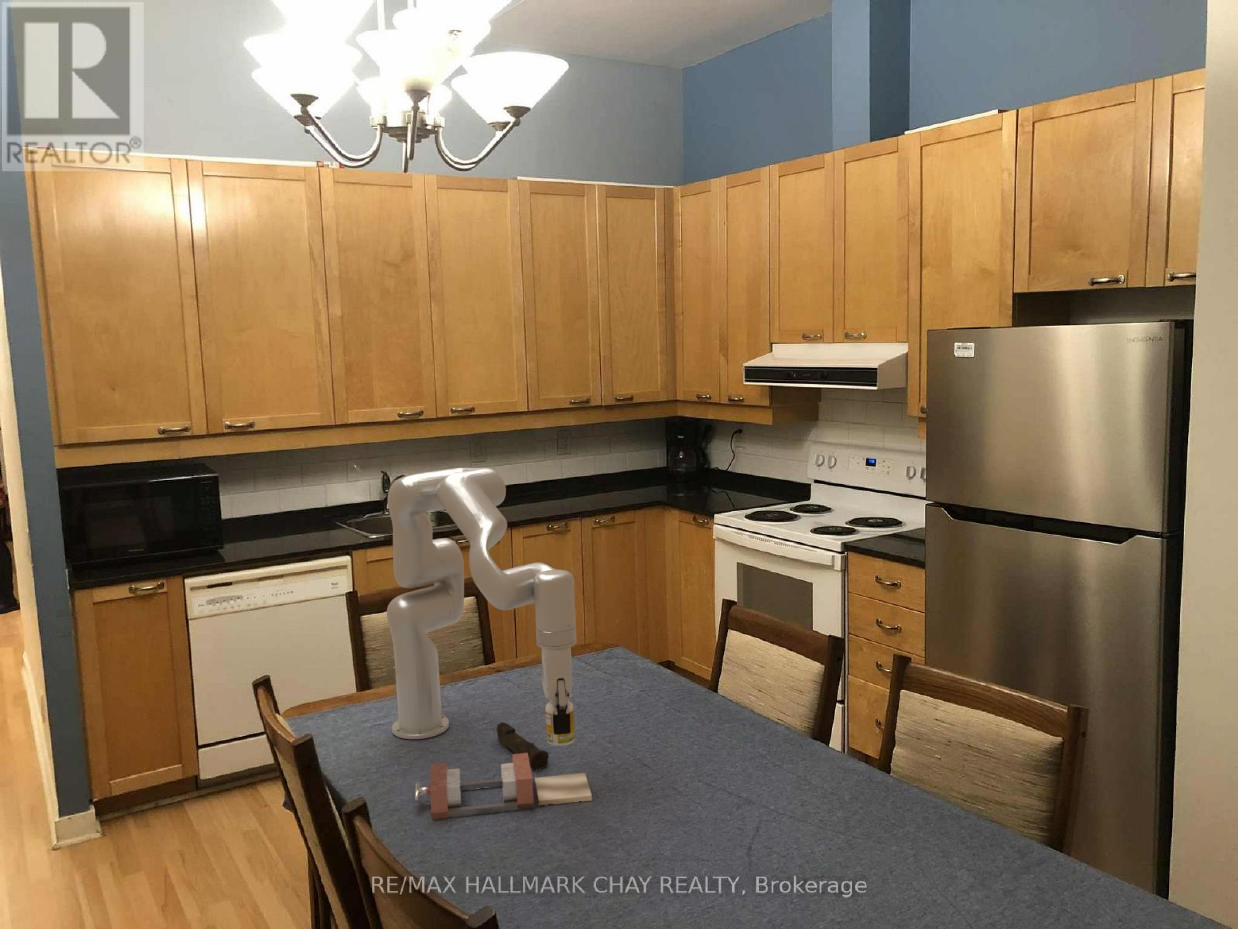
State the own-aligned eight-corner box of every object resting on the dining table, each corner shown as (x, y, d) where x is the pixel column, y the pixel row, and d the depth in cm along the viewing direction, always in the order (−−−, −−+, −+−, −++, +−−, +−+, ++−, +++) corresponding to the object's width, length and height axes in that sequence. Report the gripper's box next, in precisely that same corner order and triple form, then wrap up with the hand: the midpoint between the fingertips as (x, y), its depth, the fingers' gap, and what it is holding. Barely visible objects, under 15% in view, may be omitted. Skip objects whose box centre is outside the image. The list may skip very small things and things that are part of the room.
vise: (417, 793, 199) (415, 763, 198) (528, 781, 202) (527, 752, 201) (415, 821, 187) (413, 790, 187) (533, 808, 191) (532, 778, 190)
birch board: (534, 782, 202) (534, 778, 201) (585, 777, 203) (584, 772, 203) (539, 806, 192) (539, 801, 192) (591, 800, 193) (591, 795, 193)
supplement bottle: (579, 737, 198) (577, 689, 196) (568, 748, 193) (566, 699, 191) (553, 734, 199) (551, 686, 198) (542, 745, 194) (540, 696, 193)
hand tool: (549, 768, 209) (549, 746, 208) (532, 772, 207) (531, 751, 206) (510, 737, 225) (509, 717, 224) (493, 741, 223) (492, 721, 222)
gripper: (532, 624, 201) (536, 712, 203) (540, 651, 184) (545, 747, 187) (570, 621, 202) (574, 709, 205) (581, 648, 185) (585, 743, 188)
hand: (560, 726), depth 196 cm, fingers closed on supplement bottle, 5 cm apart
